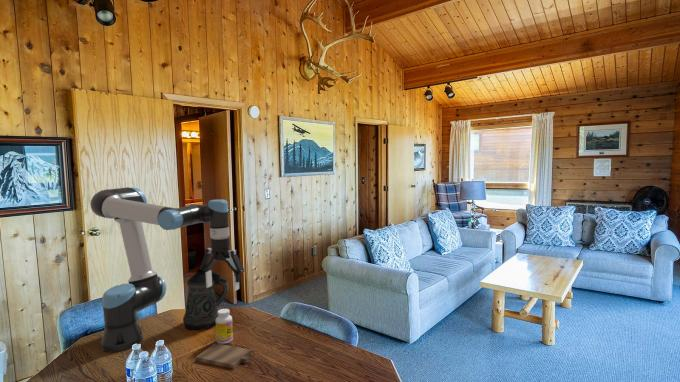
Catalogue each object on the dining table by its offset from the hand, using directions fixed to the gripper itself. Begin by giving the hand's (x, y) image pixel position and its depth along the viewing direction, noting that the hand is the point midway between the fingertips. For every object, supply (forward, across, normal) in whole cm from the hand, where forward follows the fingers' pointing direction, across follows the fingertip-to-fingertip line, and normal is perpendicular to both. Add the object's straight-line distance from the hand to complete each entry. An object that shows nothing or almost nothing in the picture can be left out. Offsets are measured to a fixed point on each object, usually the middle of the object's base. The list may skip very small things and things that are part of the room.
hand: (222, 288), depth 152 cm
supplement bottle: (+23, 0, 0) cm, 23 cm away
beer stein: (+23, -20, +12) cm, 33 cm away
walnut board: (+23, +9, -11) cm, 27 cm away
